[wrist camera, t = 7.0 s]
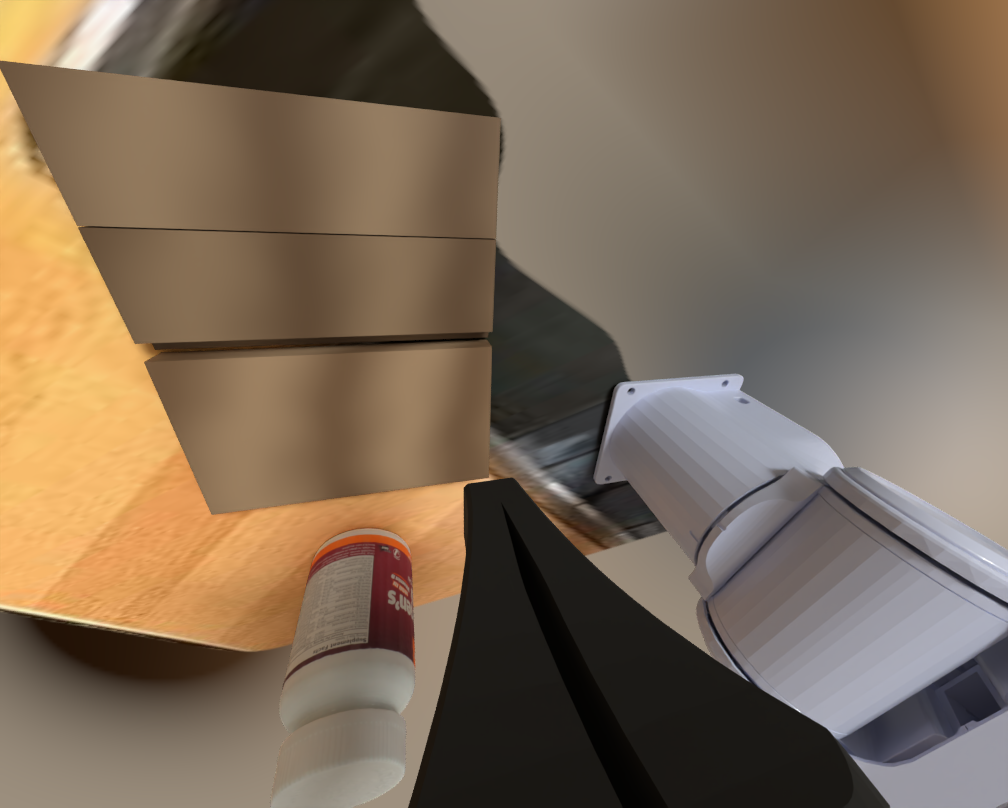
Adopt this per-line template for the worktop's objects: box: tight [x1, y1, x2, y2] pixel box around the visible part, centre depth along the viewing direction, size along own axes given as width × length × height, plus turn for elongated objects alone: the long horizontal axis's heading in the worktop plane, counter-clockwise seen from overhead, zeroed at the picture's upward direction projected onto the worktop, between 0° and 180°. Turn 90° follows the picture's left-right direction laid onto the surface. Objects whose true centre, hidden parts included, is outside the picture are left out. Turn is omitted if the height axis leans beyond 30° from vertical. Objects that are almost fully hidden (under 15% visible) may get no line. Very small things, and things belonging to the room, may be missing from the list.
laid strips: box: [0, 61, 501, 350], centre depth 14 cm, size 14×9×1 cm, turn 87°
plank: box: [144, 340, 492, 515], centre depth 18 cm, size 14×8×1 cm, turn 87°
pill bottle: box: [270, 528, 415, 808], centre depth 19 cm, size 6×6×11 cm
